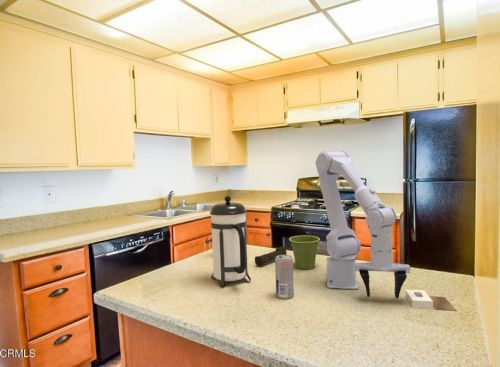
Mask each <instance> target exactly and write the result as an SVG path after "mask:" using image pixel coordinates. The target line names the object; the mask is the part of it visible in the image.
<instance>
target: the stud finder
mask: <svg viewBox="0 0 500 367" xmlns="http://www.w3.org/2000/svg"><path fill="white" fill-rule="evenodd" d="M404 292H405V296H404V297H405V298H406V299H407V301H408V303H409V304H410V306H411V307H412V308H413V309H428V310H429V309H431V310H432V309H434V307H433V301H432V299H431V298H430V297H429V296H430V295H428V293H427V292H426V291H425V290H424V289H407V288H406V289H405V291H404Z"/></svg>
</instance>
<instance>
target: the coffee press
mask: <svg viewBox="0 0 500 367" xmlns="http://www.w3.org/2000/svg"><path fill="white" fill-rule="evenodd" d="M231 200H232V197H231V196H230V195H226V196H224V201H225V202H222V203H221V202H219V203H220V204H219V203H217V204H214V205H213V206H211V209H210V211H209V214H210V228H211V242H212V243H211V246H212V247H211V248H212V268H213V269H212V270H213V273H212V275H211V276H210V277H211V278H210V279H212V280H215V279H216V280H218V281H220V283H219V287H220V288H225V287H226V284H227V283H228V282H236V281H240V280H244V281H245V282H246V283H247V282H248V283H247V284H249V283H250V282H251V281H252V278H251V277H250V275H249V273H248V272H249V271H248V269H249V268H248V250H247V249H248V248H247V245H248V244H247V242H248V241H247V219H246V218H247V216H246V214H247V209H246V207H245V206H244V205H243V204H242V203H239V202H231ZM246 277H247V278H246ZM213 278H214V279H213Z"/></svg>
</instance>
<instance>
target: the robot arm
mask: <svg viewBox="0 0 500 367" xmlns="http://www.w3.org/2000/svg"><path fill="white" fill-rule="evenodd" d="M315 167H316V170H317V175H318V182H319V186H320V191H321V194H322V198H323V202H324V206H325V209H326V213H327V217H328V223H329V226H330V231H329V233H328V234H327V235H326V237H325V239H326V251H327V254H328V255H329V257H326V273H325V281H326V287H327V288H328V289H342V290H343V289H344V290H345V289H347V290H358V289H359V286H358V281H357V272H359V275H360V277H361V280H362V282H363V284H364V287H365V291H366V298H367V297H368V298H370V297H371V291H370V273H369V272H381V273H382V272H383V273H384V272H385V273H386V272H387V273H389V272H390V273H394V274H393V276H394V297H395V298H396V299H399V298H400V294H401V290H402V287H403V285H404V283H405V281H406V280H407V277H408V275H407V274H411V266H410V265H409V264H405V263H404V264H403V263H397V262H396V263H395V262H394V261H393V259H394V258H393V226H394V225H395V224H396V222H397V213H396V212H395V210H394V208H393V207H391V206H389V205H386V203H384V202H383V201H382V200H381V198H380V197H379V196H378V195H377V193H376V190H375V188H374V187H373V188H372V187H371V186H369V185H365V183H364V182H363V180H362V178H361V177H360V175H359V174H358V172H357V170H356V169H355V167H354V165H353V159H352V158H351V157H350V154H349V153H348V152H346V151H321V152H319V154H318V156H317V158H316V160H315ZM341 176H342V178H343V179H344V180H345V181H346V182H347V184H348V185H349V186H350V187H351V189H352V190H353V191H354V199H355V200H356V202H357V203H358V205H359V206H360V208H361V209H362V211H363V212H364V214H365V215H366V216H365V223H366V224H367V226H368V232H369V234H370V261H368V262H356V258H358V254H360V252H361V248H362V247H361V242H360V240H359V239H358V237H357V235H356V232H355V231H354V230H353V229H352V228H350V227H349V225H348V223H347V218H346V215H345V214H346V213H345V210H344V207H343V202H342V200H341V194H340V191H339V187H338V183H337V181H338V179H339V178H340V177H341Z"/></svg>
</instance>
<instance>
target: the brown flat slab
mask: <svg viewBox="0 0 500 367" xmlns="http://www.w3.org/2000/svg"><path fill="white" fill-rule="evenodd" d="M428 296H429V297H430V298H431V299H432V301H433V309H434V310H437V311H438V310H439V311H449V312H450V311H452V312H453V311H455V312H457V309H456V307H454V305H453V304H452V303H451V302H450V301H449V300H448V299H447V297H446V296H435V295H434V296H433V295H428Z"/></svg>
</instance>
